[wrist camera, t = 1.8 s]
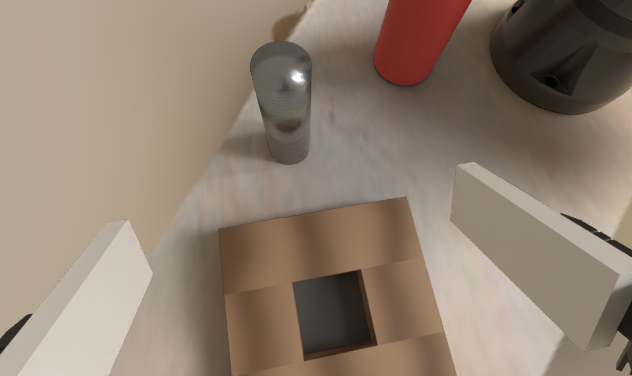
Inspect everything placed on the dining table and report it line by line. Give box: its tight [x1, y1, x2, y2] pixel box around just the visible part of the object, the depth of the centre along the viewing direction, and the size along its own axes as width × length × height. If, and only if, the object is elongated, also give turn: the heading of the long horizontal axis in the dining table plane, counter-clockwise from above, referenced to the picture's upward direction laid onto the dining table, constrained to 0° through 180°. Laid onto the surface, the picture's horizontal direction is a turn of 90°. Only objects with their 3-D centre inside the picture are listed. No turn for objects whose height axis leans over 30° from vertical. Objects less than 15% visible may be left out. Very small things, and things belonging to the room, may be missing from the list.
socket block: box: [218, 196, 457, 376], centre depth 25 cm, size 16×16×4 cm
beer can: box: [374, 0, 472, 86], centre depth 29 cm, size 7×7×12 cm
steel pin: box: [250, 41, 312, 164], centre depth 26 cm, size 4×4×12 cm
